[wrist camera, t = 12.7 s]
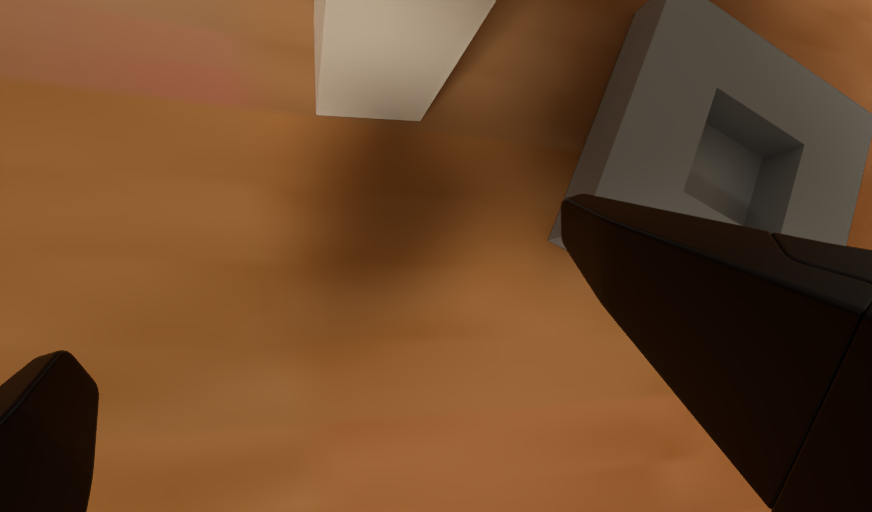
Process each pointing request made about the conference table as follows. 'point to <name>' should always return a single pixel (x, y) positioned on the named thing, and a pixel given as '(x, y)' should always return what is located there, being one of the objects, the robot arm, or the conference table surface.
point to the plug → (389, 53)
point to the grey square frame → (723, 129)
